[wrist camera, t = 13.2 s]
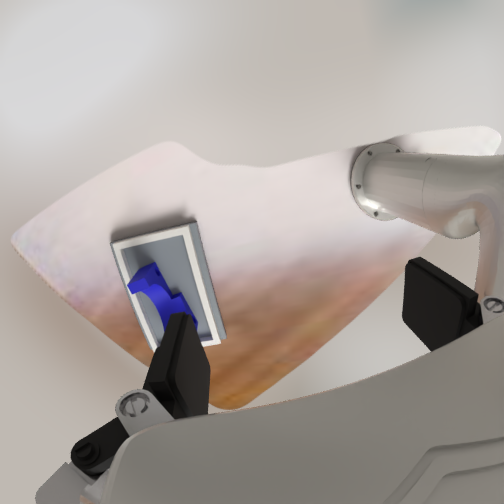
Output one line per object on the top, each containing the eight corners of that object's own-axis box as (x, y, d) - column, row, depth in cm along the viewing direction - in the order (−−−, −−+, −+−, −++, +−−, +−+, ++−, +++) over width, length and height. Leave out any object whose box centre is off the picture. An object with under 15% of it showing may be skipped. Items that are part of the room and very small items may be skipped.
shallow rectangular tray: (196, 221, 39) (195, 224, 37) (226, 335, 45) (226, 342, 43) (112, 241, 39) (106, 245, 36) (151, 346, 45) (149, 353, 43)
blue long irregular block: (198, 322, 43) (195, 344, 37) (174, 330, 43) (168, 352, 38) (163, 257, 39) (154, 273, 33) (139, 268, 39) (126, 285, 34)
